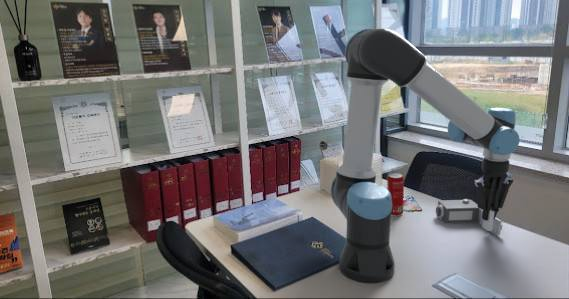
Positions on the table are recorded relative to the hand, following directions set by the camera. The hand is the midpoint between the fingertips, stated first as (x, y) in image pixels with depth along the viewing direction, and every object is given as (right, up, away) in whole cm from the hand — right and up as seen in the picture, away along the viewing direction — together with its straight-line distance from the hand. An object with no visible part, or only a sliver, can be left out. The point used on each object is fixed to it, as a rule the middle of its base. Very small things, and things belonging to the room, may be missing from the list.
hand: (487, 228), depth 138 cm
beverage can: (-25, +2, +18) cm, 31 cm away
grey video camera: (-4, +1, +13) cm, 14 cm away
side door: (+3, -1, +5) cm, 5 cm away
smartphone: (-18, +4, +27) cm, 33 cm away
